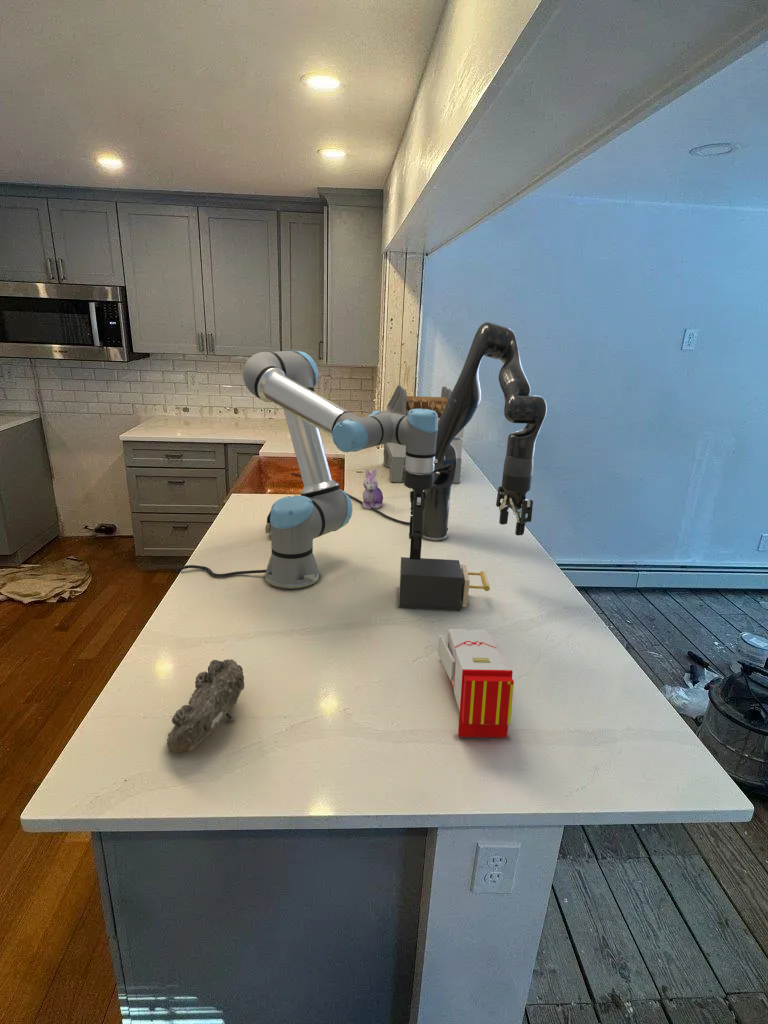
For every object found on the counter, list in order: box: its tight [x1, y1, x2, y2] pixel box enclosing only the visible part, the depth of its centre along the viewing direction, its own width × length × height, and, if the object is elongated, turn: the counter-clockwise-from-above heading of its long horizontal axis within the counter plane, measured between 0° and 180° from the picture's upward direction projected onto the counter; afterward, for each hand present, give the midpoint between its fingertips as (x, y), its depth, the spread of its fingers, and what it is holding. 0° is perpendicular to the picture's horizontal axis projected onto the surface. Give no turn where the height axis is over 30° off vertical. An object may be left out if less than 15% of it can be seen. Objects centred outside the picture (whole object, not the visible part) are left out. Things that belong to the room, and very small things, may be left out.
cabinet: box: [398, 556, 463, 612], centre depth 154 cm, size 16×11×10 cm
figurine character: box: [265, 510, 271, 538], centre depth 195 cm, size 7×8×15 cm
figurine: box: [361, 468, 384, 510], centre depth 224 cm, size 9×10×15 cm
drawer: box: [460, 564, 491, 608], centre depth 154 cm, size 20×10×8 cm, turn 88°
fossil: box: [166, 658, 245, 754], centre depth 106 cm, size 22×10×15 cm
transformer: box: [383, 384, 465, 484], centre depth 268 cm, size 34×33×41 cm
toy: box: [437, 628, 515, 738], centre depth 117 cm, size 12×13×30 cm
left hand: (414, 548), depth 151 cm, fingers open, 13 cm apart
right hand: (510, 529), depth 155 cm, fingers open, 8 cm apart
